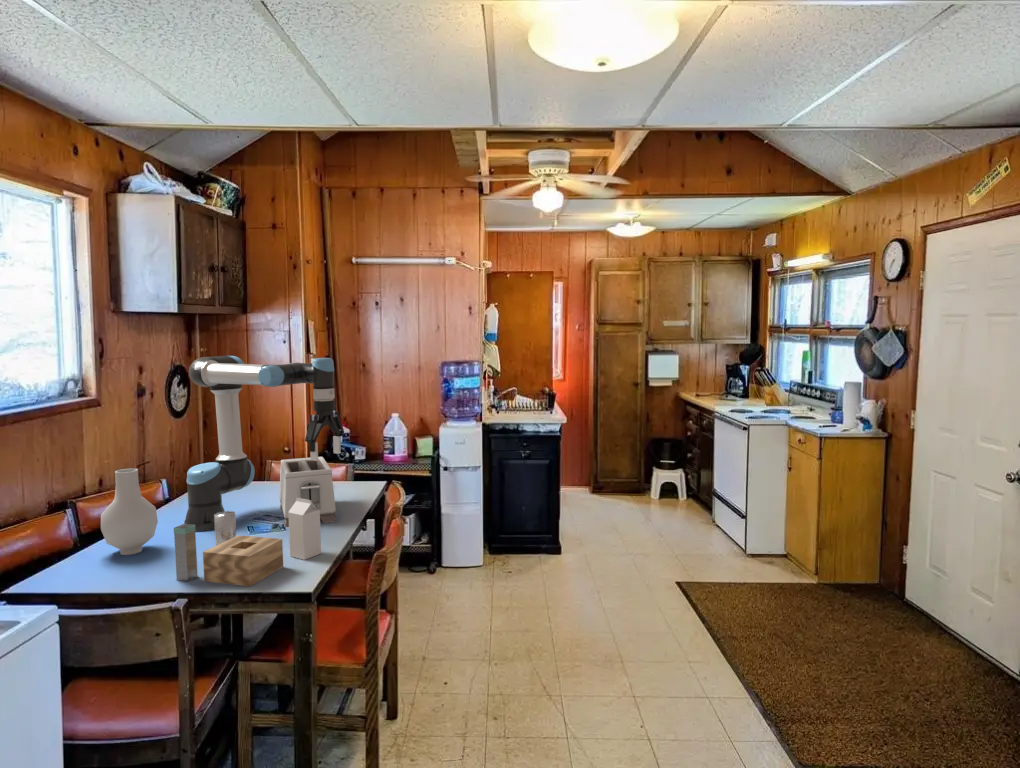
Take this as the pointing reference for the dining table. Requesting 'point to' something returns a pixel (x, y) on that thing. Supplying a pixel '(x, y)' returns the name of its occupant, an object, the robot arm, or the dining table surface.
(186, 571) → the square bit
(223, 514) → the round bit
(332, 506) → the toaster
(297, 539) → the milk carton
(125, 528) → the vase
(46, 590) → the dining table surface
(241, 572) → the socket block
